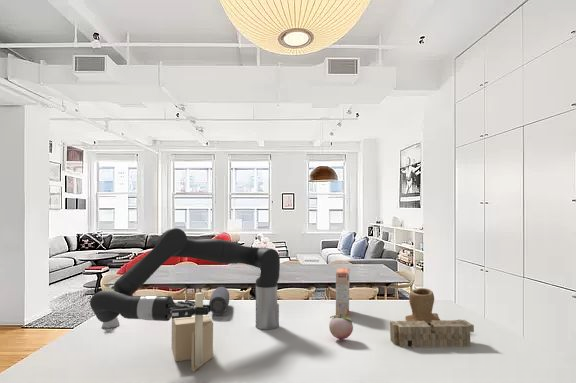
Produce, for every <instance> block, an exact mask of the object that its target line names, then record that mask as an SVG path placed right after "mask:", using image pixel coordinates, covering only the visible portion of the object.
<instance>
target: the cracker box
mask: <svg viewBox="0 0 576 383" xmlns="http://www.w3.org/2000/svg"><path fill="white" fill-rule="evenodd" d="M349 311H350V268H348V267H347V268H346V267H338V268H337V270H336V272H335V315H338V316H340V314H341V317H348V318H349V314H350V313H349Z"/></svg>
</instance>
